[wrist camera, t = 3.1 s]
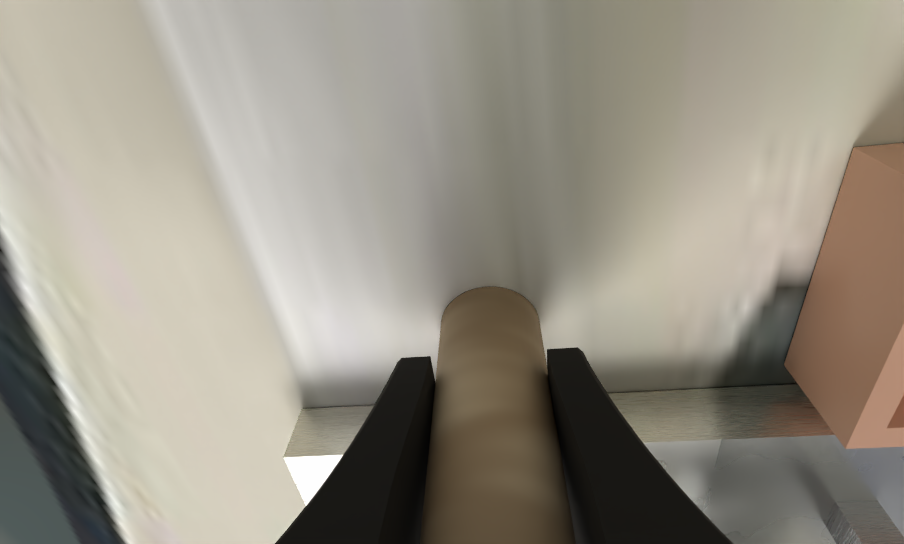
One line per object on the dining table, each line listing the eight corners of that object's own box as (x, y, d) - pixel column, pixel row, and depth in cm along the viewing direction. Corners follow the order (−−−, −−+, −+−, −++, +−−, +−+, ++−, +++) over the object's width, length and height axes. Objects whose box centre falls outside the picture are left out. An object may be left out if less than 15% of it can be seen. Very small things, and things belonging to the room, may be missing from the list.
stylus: (538, 283, 12) (610, 685, 5) (540, 360, 13) (600, 757, 7) (434, 290, 12) (386, 684, 6) (447, 366, 13) (419, 755, 7)
